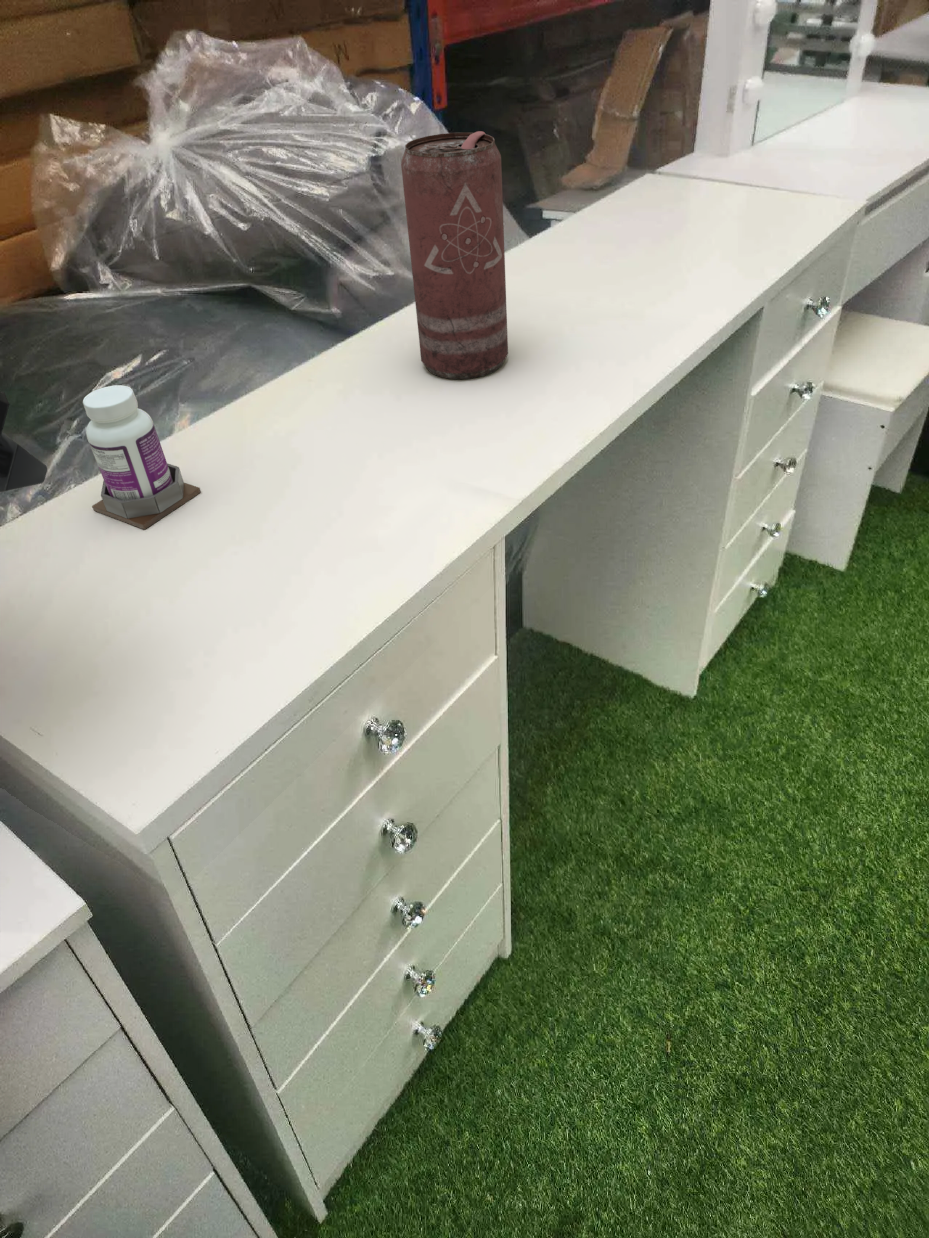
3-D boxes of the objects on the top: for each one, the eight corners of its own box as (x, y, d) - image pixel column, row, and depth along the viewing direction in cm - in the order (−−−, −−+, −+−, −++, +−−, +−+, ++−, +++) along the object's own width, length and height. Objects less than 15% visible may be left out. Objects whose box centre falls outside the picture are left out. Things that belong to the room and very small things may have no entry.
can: (526, 352, 95) (521, 131, 81) (477, 388, 89) (463, 155, 75) (456, 338, 100) (440, 125, 86) (404, 371, 94) (378, 148, 80)
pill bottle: (160, 474, 79) (126, 374, 73) (186, 497, 76) (153, 393, 69) (103, 498, 76) (63, 396, 70) (127, 521, 73) (87, 417, 67)
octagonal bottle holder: (144, 530, 73) (136, 508, 72) (93, 510, 76) (85, 490, 75) (201, 492, 77) (195, 471, 76) (150, 475, 80) (143, 455, 79)
